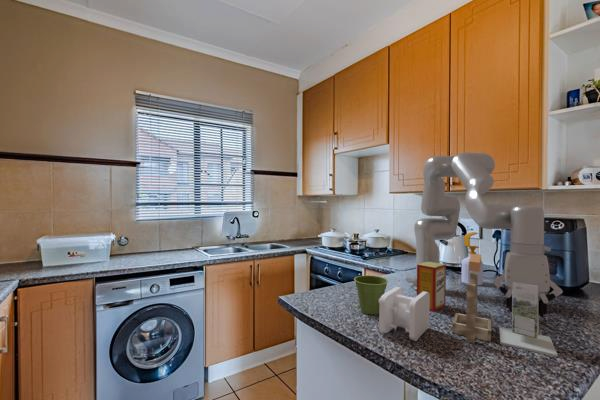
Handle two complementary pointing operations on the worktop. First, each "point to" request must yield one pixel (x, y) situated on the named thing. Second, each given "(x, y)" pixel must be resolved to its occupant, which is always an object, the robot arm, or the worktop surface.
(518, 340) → the mat
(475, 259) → the bar
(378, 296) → the plant pot
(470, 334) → the cradle
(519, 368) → the worktop surface
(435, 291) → the baking soda box
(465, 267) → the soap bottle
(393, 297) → the cable organizer
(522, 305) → the syrup box
